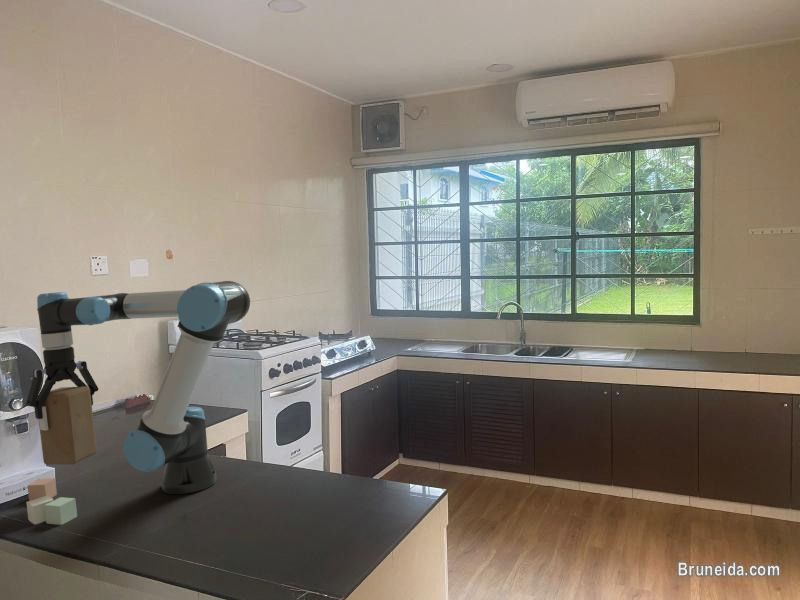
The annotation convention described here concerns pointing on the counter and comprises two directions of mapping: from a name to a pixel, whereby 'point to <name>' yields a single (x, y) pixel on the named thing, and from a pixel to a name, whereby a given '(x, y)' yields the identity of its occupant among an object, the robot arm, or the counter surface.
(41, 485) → the cube tan
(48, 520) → the cube sage
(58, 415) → the wooden block
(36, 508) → the cube cream
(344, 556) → the counter surface
